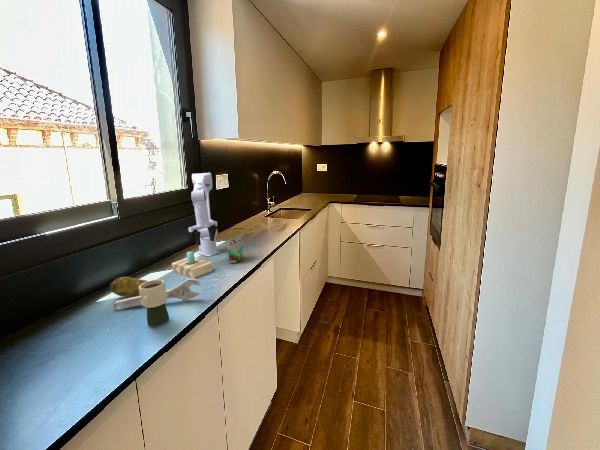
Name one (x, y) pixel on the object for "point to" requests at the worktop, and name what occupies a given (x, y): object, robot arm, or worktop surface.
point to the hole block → (192, 267)
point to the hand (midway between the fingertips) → (205, 243)
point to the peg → (190, 258)
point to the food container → (235, 251)
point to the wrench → (177, 292)
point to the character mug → (154, 301)
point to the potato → (126, 286)
